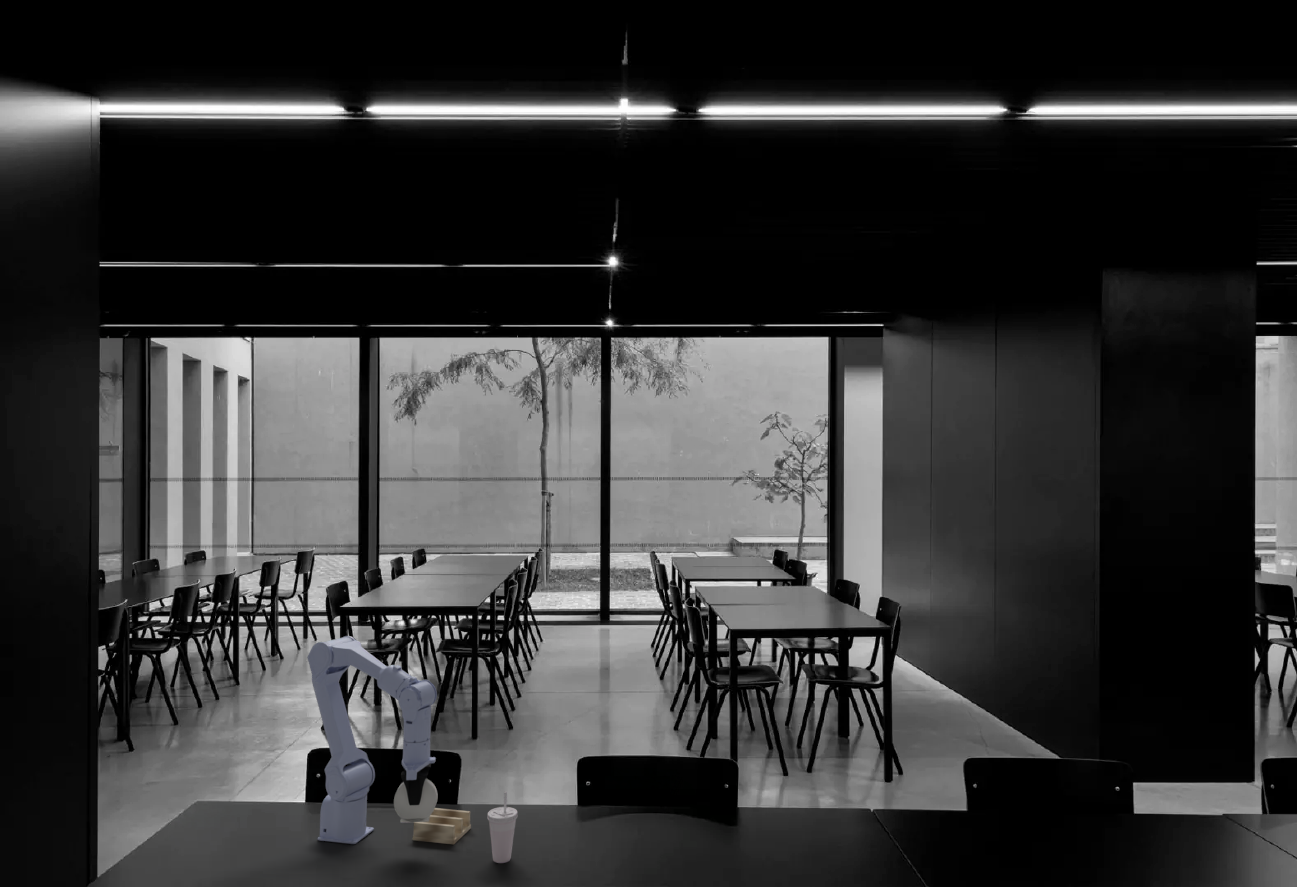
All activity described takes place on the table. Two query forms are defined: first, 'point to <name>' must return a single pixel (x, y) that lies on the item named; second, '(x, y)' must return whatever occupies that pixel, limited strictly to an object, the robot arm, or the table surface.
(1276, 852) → the table surface
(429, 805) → the plate
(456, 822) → the rack
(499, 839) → the smoothie
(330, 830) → the robot arm
